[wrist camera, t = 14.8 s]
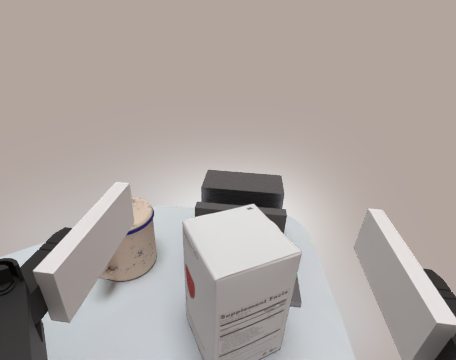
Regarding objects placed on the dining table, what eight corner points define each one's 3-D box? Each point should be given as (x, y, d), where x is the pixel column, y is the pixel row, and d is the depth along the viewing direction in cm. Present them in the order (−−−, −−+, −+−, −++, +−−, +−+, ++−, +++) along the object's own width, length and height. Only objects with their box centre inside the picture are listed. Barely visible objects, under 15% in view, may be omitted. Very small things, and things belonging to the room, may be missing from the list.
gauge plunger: (195, 269, 42) (194, 207, 37) (206, 230, 50) (206, 175, 45) (293, 279, 41) (306, 217, 36) (287, 238, 49) (297, 183, 44)
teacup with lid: (113, 239, 48) (102, 179, 43) (165, 244, 47) (160, 183, 42) (72, 297, 37) (50, 226, 32) (138, 304, 37) (127, 233, 31)
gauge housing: (189, 294, 38) (187, 223, 33) (207, 228, 52) (208, 169, 46) (300, 307, 37) (317, 235, 32) (289, 236, 51) (299, 177, 45)
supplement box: (184, 314, 36) (179, 217, 29) (245, 291, 39) (254, 200, 32) (210, 386, 29) (213, 280, 22) (283, 350, 32) (305, 250, 25)
